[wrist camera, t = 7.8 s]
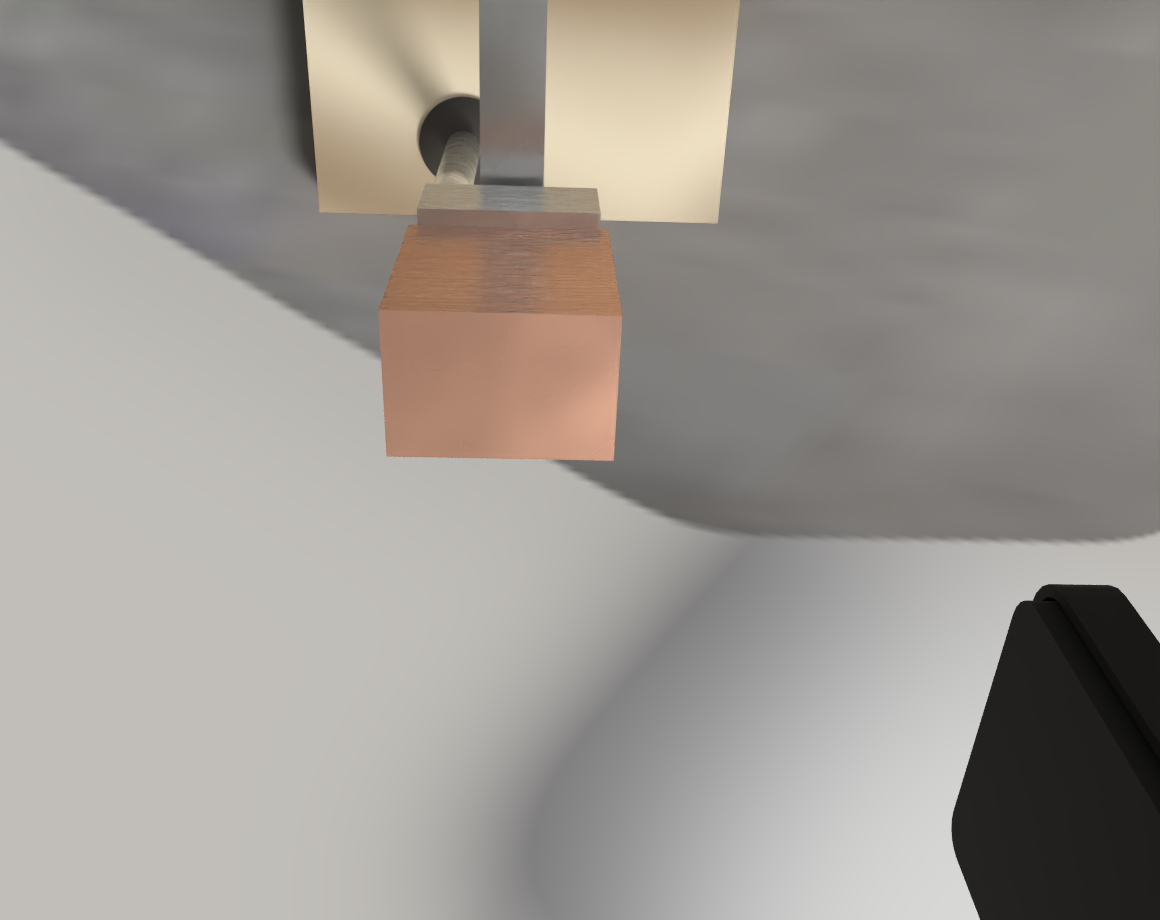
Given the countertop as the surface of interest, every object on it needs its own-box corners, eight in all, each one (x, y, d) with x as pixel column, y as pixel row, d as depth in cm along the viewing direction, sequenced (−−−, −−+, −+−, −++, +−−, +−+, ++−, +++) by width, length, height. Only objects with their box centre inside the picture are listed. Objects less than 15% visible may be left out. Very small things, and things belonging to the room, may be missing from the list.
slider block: (445, 88, 28) (362, 289, 16) (588, 93, 28) (623, 296, 16) (447, 203, 30) (374, 472, 17) (584, 207, 30) (612, 477, 17)
